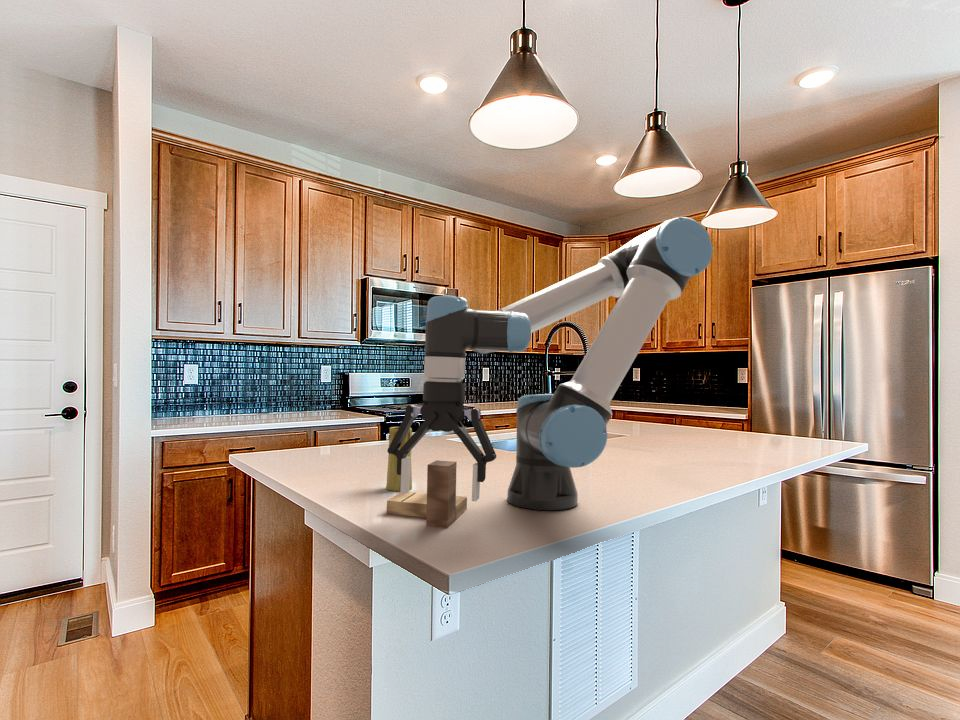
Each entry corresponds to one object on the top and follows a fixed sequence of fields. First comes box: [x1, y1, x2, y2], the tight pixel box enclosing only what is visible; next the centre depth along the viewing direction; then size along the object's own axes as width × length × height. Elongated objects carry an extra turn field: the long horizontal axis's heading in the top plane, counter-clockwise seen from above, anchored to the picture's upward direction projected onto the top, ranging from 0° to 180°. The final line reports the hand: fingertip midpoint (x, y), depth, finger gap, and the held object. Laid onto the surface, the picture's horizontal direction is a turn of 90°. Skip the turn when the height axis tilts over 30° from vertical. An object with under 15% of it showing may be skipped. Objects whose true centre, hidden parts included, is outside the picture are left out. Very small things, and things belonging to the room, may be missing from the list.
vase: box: [385, 426, 413, 492], centre depth 124 cm, size 6×6×14 cm
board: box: [386, 491, 468, 521], centre depth 104 cm, size 14×8×3 cm, turn 76°
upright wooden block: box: [425, 459, 457, 529], centre depth 99 cm, size 4×10×11 cm, turn 167°
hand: (439, 496), depth 97 cm, fingers open, 13 cm apart
